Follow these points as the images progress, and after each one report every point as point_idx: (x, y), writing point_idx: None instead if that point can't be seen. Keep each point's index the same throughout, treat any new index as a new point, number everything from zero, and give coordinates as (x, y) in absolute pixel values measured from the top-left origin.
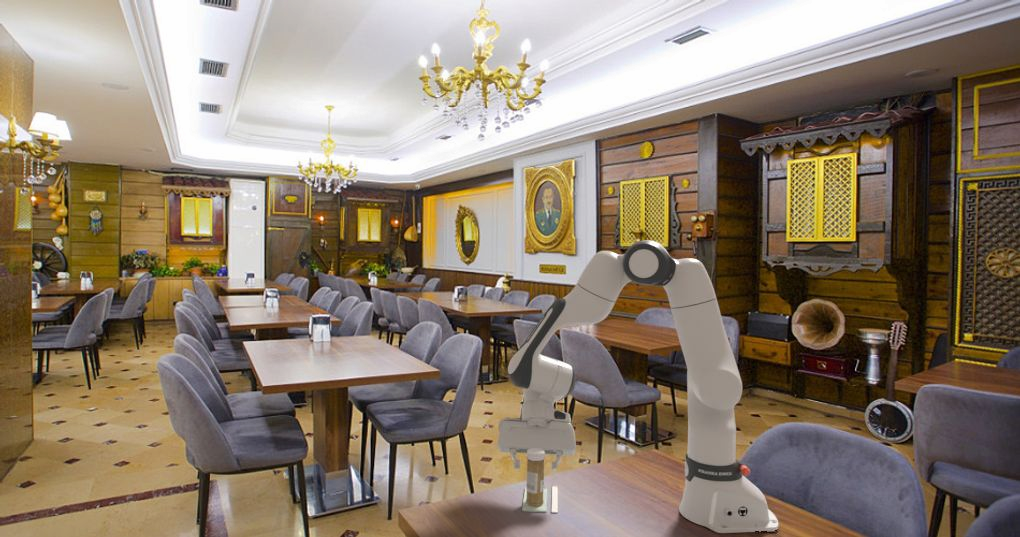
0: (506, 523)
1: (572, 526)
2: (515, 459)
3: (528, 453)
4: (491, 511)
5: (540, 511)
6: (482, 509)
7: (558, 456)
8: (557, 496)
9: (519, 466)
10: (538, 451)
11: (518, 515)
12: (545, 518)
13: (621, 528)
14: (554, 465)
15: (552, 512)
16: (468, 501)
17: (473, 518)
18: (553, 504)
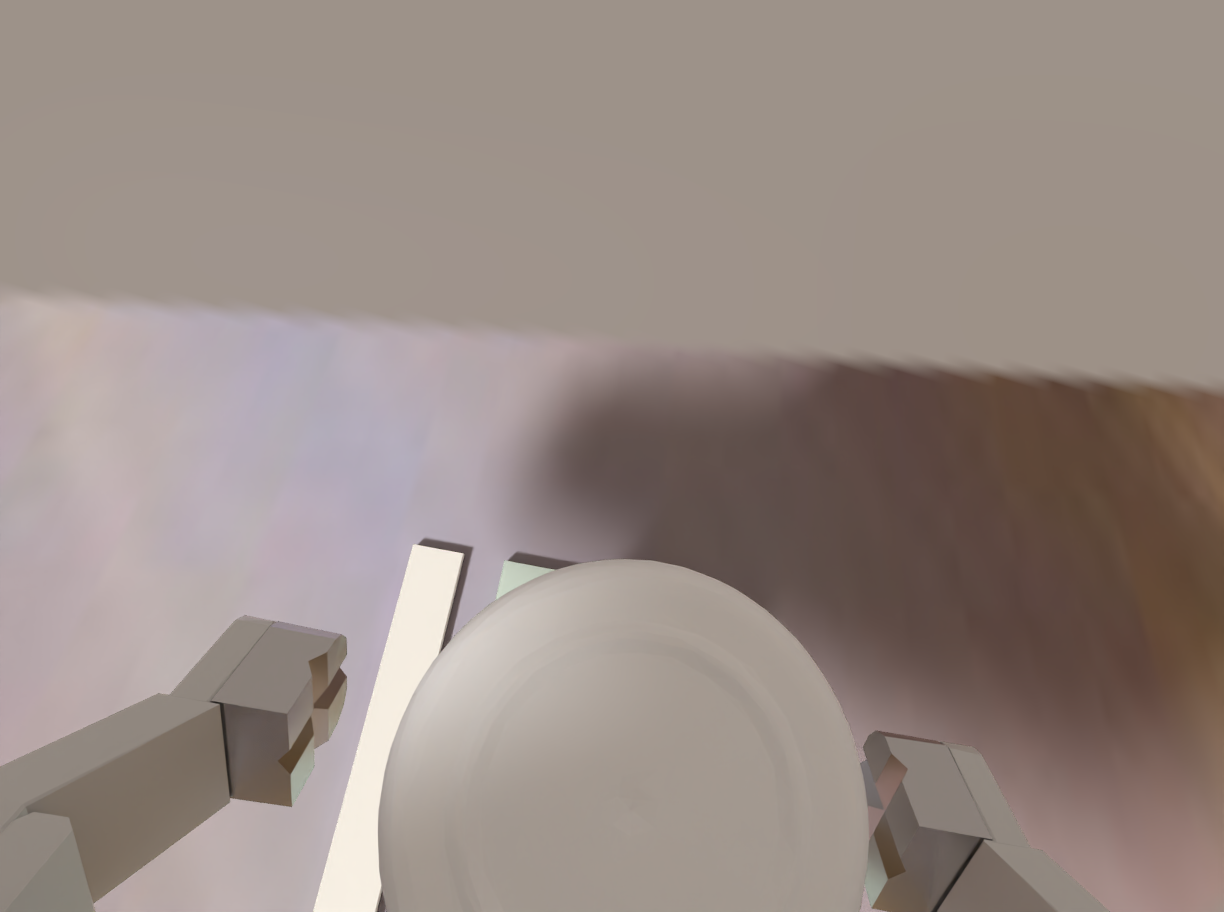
0: (818, 420)
1: (361, 347)
2: (1011, 843)
3: (826, 683)
4: (938, 608)
5: (553, 570)
6: (1011, 647)
7: (62, 777)
8: (323, 881)
9: (879, 731)
10: (571, 718)
11: (731, 530)
12: (531, 471)
13: (11, 294)
14: (273, 642)
15: (456, 554)
16: (1153, 811)
17: (1051, 505)
18: (412, 690)
